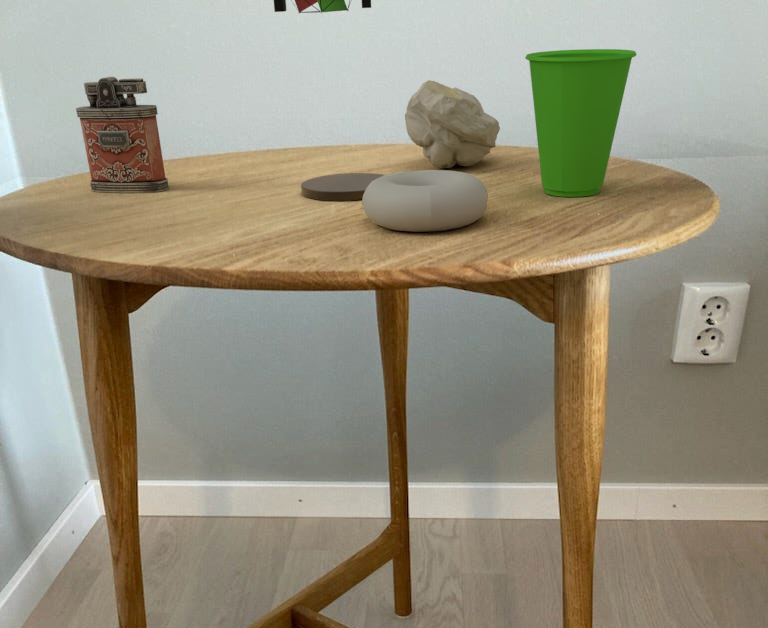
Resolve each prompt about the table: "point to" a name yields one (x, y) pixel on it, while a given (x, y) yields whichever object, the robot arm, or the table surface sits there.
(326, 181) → the walnut coaster
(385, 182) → the donut
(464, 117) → the beige lumpy stone
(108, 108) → the lighter
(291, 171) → the table surface
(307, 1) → the geometric puzzle
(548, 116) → the cup
